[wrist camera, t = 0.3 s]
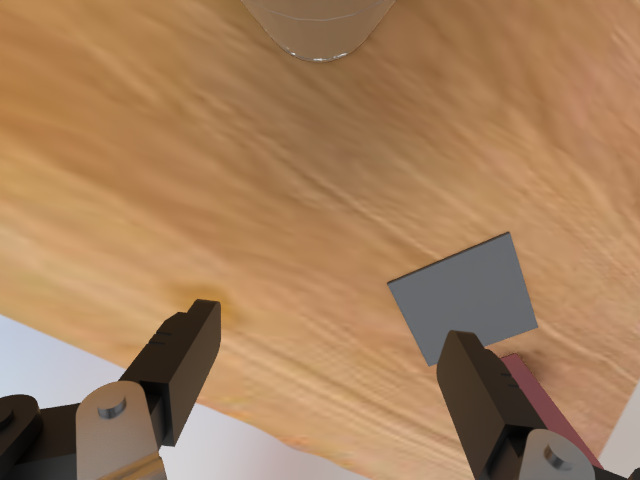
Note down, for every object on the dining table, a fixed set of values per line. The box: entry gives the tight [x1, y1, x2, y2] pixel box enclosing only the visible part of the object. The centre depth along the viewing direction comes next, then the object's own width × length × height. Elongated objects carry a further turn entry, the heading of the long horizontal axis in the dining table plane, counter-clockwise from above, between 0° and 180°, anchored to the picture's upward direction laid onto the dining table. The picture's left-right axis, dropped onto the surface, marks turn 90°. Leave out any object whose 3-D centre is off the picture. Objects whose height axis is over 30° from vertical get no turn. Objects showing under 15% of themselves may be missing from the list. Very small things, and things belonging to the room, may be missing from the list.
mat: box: [387, 232, 538, 366], centre depth 32 cm, size 12×12×1 cm
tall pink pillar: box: [500, 353, 604, 469], centre depth 31 cm, size 6×6×12 cm
